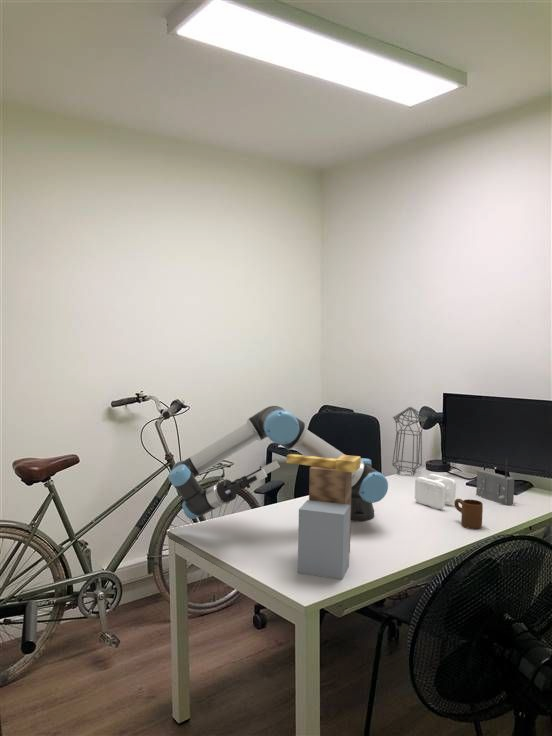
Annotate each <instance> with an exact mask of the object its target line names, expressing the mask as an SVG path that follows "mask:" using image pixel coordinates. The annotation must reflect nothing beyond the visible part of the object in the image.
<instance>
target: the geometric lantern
mask: <svg viewBox="0 0 552 736" xmlns="http://www.w3.org/2000/svg"><path fill="white" fill-rule="evenodd" d="M412 413H413V414H414V415H413V414H412ZM407 414H408V415H407ZM401 416H403V417H402V418H401ZM410 418H411V419H410ZM413 418H414V419H413ZM392 419H393V420H394V422H395V431H396V435H395V442H394V450H393V456H392V462H391V463H392V466H393V468H395V469H396V470H397V472H396V474H397V475H399V473H400V472H406V473H407V472H408V473H410V475H413V476H414V475H415V474H416V471H417V469H418V468H420V467H421V466H422V465H423V456H422V455H423V454H422V453H423V451H422V450H423V446H422V445H423V443H422V442H423V441H422V435H423V433H422V432H423V429H424V426H425V423H426V422H427V419H428V417H427V416H426V415H425V414H422V413H421V412H420V411H418V410H417V409H416V408H414V407H412V406H408V407H407V408H406V409H404V410H402V411H401V412H399V413H398V414H396V415H394V416H392ZM400 420H401V421H400ZM404 421H405V422H407V424H404ZM419 422H421V423H420V426H418V423H419ZM414 424H415V425H416V427H417V429H418V431H417V430H413V429H412V428H411V426H412V425H414ZM398 425H399V427H400V429H399V430H398ZM403 427H405V428H404V429H403ZM408 427H409V429H407V428H408ZM406 431H407V432H411V433H412V434H411V433H406ZM414 432H416V434H415V433H414ZM399 435H400V437H399ZM402 435H403V440H402ZM406 435H409V436H413V437H412V461H407V460H403V458H404V447H405V436H406ZM415 436H416V462H414V461H415V460H414V457H415ZM401 440H402V441H401ZM401 442H402V448H400V447H401ZM400 449H401V460H399V456H400ZM403 463H410V464H412V465H411V466H410V467H409V466H403V465H402V464H403ZM414 464H416V465H415V466H414ZM403 468H405V469H410V470H405V469H404V470H403ZM411 471H412V472H411ZM406 473H404V474H405V475H404V476H408V474H406ZM414 473H415V474H414Z"/></svg>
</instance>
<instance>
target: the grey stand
mask: <svg viewBox="0 0 552 736" xmlns="http://www.w3.org/2000/svg"><path fill="white" fill-rule="evenodd" d="M297 530H298V533H297V534H298V539H297V541H298V542H297V543H298V544H297V573H298V574H304V575H309V576H310V575H311V576H318V577H325V578H331V579H338V580H343V579H344V577H345V574H346V573H347V571H348V569H349V568H350V553H349V539H350V540H351V530H350V505H347V504H338V503H329V502H320V501H311V500H309V499H307V500H306V501H305V502H304V503H303V504H302V505H301V506H300V508H298V529H297Z"/></svg>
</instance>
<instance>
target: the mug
mask: <svg viewBox="0 0 552 736" xmlns="http://www.w3.org/2000/svg"><path fill="white" fill-rule="evenodd" d="M453 505H454V508H455V509H456V510H457V511H458V512H460V514H461V516H460V517H461V518H460V519H461V521H460V522H461V526H463V527H464V528H465V529H466V528H467V529H471V530H479V529H481V528H482V527H483V512H484V511H483V510H484V509H483V508H484V507H483V505H484V504H483V501H480V500H477V499H467V498H466V499H462V498H455V502H454V504H453ZM460 505H461V506H460Z"/></svg>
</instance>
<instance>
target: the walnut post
mask: <svg viewBox="0 0 552 736" xmlns="http://www.w3.org/2000/svg"><path fill="white" fill-rule="evenodd" d="M308 473H309V476H308V477H309V478H308V479H309V480H308V482H309V484H308V487H309V489H308V500H311V501H320V502H329V503H338V504H347V505H350V531H351V527H352V525H351V522H352V520H351V487H352V472H344V471H336V468H327V467H318V466H309V472H308ZM350 553H351V538H350V539H349V554H350Z"/></svg>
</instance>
